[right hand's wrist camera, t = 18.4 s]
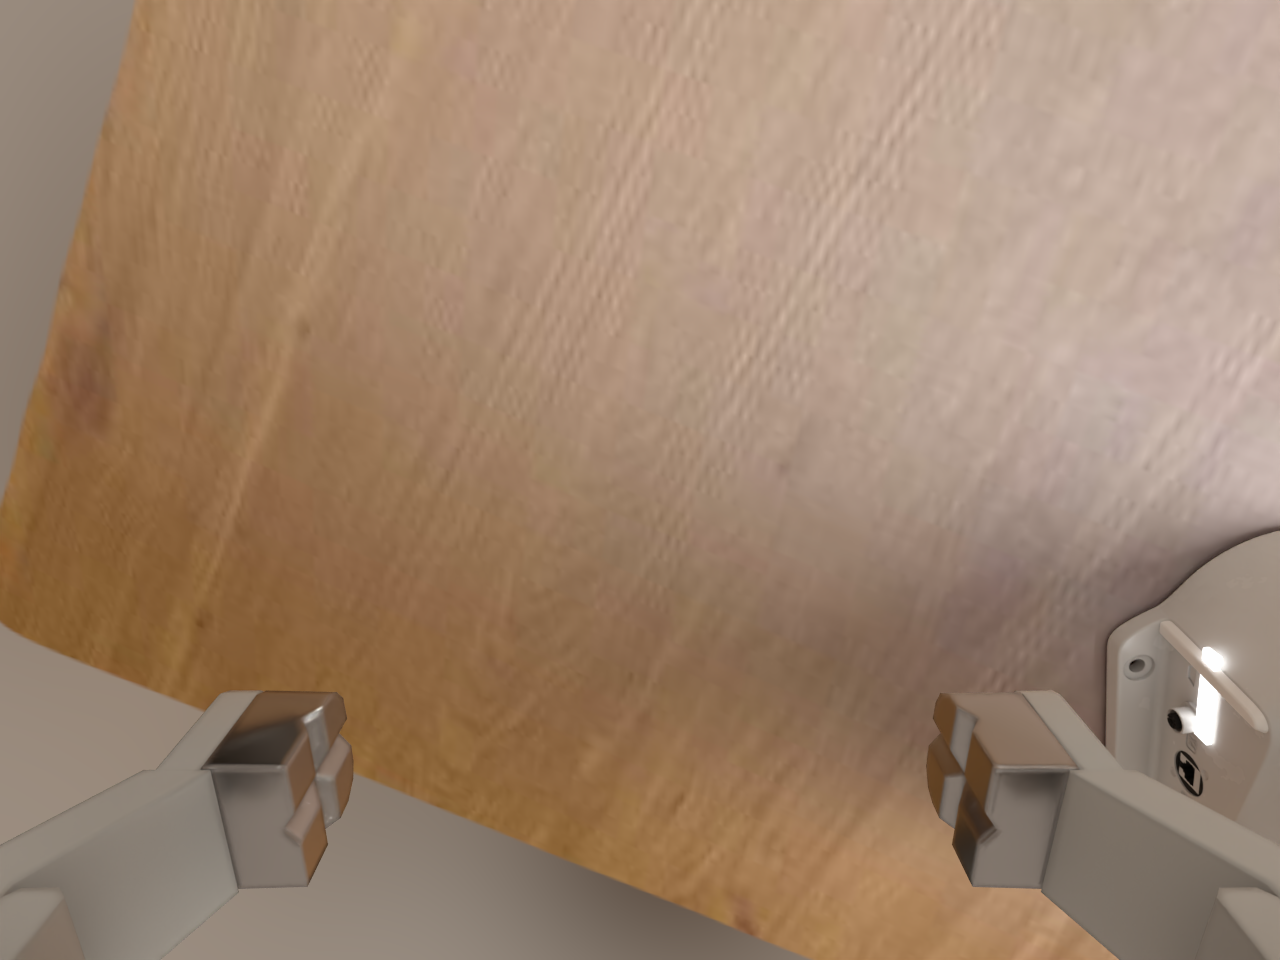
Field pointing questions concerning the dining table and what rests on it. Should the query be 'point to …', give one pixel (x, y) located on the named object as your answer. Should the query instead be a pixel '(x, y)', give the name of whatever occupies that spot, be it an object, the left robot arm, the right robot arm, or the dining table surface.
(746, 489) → the dining table surface
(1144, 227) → the dining table surface
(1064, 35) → the dining table surface
